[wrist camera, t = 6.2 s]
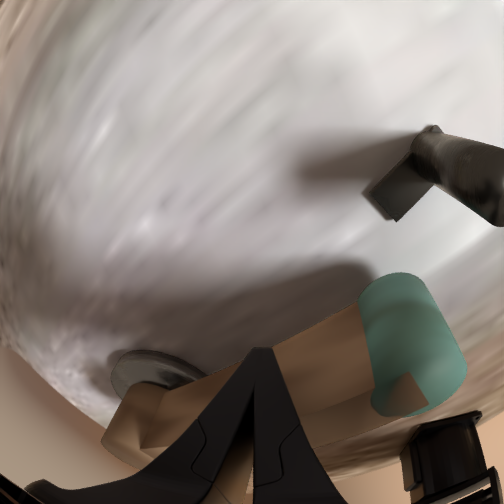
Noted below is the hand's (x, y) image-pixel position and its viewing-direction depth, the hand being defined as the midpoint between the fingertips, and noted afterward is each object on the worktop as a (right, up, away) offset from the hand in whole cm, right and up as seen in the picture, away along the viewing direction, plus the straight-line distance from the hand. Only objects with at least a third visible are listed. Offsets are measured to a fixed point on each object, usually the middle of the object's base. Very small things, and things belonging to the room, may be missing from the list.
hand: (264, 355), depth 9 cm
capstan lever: (-1, -3, +5) cm, 6 cm away
